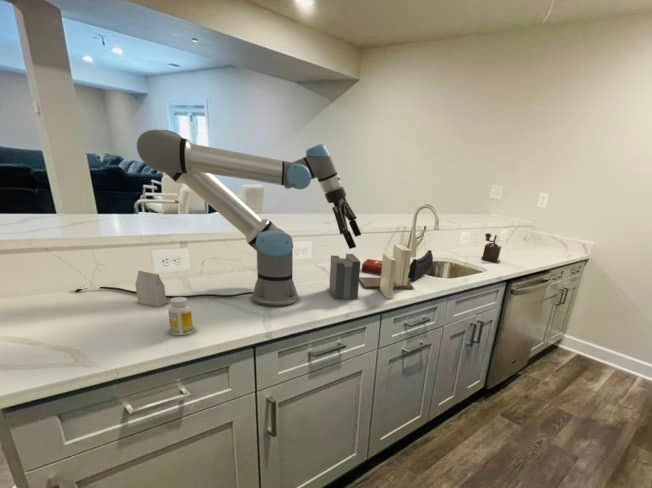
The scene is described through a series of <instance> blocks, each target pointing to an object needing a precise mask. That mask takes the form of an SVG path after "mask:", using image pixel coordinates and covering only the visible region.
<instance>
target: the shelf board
mask: <svg viewBox="0 0 652 488" xmlns="http://www.w3.org/2000/svg"><path fill="white" fill-rule="evenodd" d="M380 281H381V277H376V276H375V277H374V276H373V277H371V276H359V283H360V284H361V285H362V287H363V288H364V289H365V290H380ZM413 289H414V287H413V285H412V284H411V283H409V281H407V286H403V285H402V286H398V285H397V284H396V283H395V282H394V285H393V290H413Z"/></svg>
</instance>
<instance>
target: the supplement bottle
mask: <svg viewBox="0 0 652 488" xmlns="http://www.w3.org/2000/svg"><path fill="white" fill-rule="evenodd" d="M169 301H170V302H169V304H170V306H169V307H168V309H167V310H168V320H169V328H170V329H169V330H170V333H171V334H173V335H174V336H185V335H189V334H192V333H193V332H194V325H193V314H192V313H193V312H192V308H191V305H189V300H188V298H185V297H175V298H170V300H169Z"/></svg>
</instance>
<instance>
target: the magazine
mask: <svg viewBox="0 0 652 488" xmlns="http://www.w3.org/2000/svg"><path fill="white" fill-rule="evenodd" d="M432 252H433V251H432V250H431V249H428V250H427V252H426V253H425V254H424V255H423V256H422V257H420V258H413V259H412V261H411V262H410V266H409V273H408V280H417V279H420V278H422V277H423V276H425V274H427V273H428V271H429V270H430V269H431V268H432V266H433V262H434V261H433V260H434V258H433V253H432Z"/></svg>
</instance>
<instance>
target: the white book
mask: <svg viewBox="0 0 652 488" xmlns="http://www.w3.org/2000/svg"><path fill="white" fill-rule="evenodd" d="M381 261H382V271H381V274H380V278H381V281H380V289H379V291H380V292H381V293H382V295H384V297H385V298H386V299H393V294H394V293H393V292H394V289H393V285H394V276H395V268H396V260H395V259H394V258H393V255H390V254H389V253H387V252H384V253H382V260H381Z"/></svg>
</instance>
